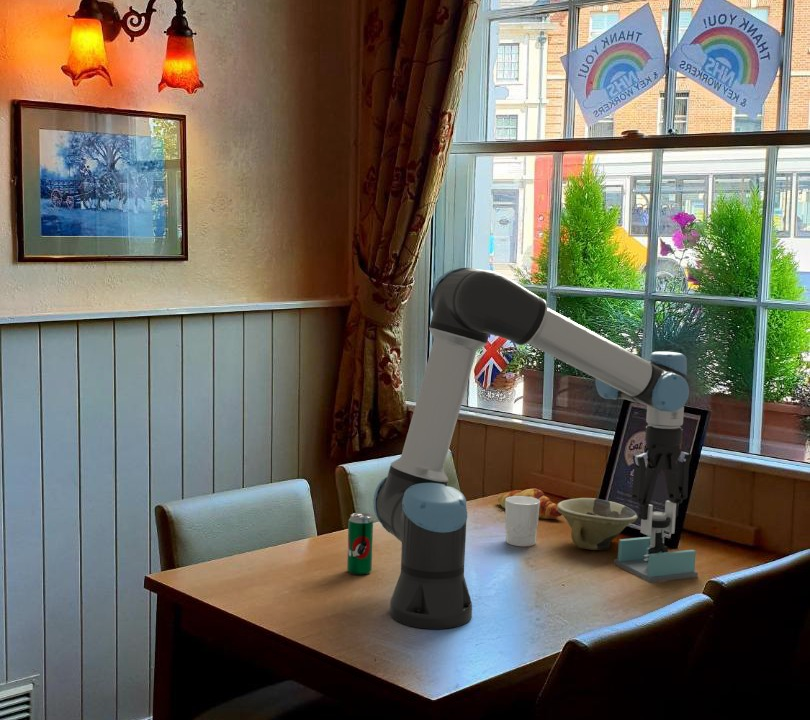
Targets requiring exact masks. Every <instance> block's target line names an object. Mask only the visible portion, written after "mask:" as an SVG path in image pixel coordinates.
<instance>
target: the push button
mask: <svg viewBox="0 0 810 720" xmlns="http://www.w3.org/2000/svg"><path fill="white" fill-rule="evenodd" d="M670 520H671V519H670V518H669V517H667V516H666V513H665V511H653V513H652V528H651V536H649V537H650V542H649V548H647V549H646V555H644V556H646V559H644V560H645V561H649V554H654V553H664V552H669V551H668V549H669V547H668V546H666V545H665V536H664V535H665V534H664V533H665V531H664V529H665V528H667V527H668V526H669V522H670ZM663 540H664V542H663Z"/></svg>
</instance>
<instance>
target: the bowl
mask: <svg viewBox="0 0 810 720" xmlns="http://www.w3.org/2000/svg"><path fill="white" fill-rule="evenodd" d="M556 505H557V507H558V512H559V513H561V514H562V515H561V516H562V517H564V518H565V520H566V522H567V523H568V525H569V527H570V528H571V532H570V533H571V534H570V535H571V537H570V538H571V540H572V542H573V544H574V545H575V546H576V547H578V548H579V549H587V550H591V551H597V552H598V551H607V550H608V549H609V548H610V547H611V542H612V541H614V540H615V538H617V537H618V536H619V535H620V534H621V533H622V532H623V531H624V529H625V528H626V527H628V525H630V524H633V523H634V522H635V523H636V520H637V519H638V518H639V515H638V514H637V512H636V511H635V510H633V509H632V508H630V507H628V506H626V505H624V504H621V503H618V502H615V501H610V500H605V499H601V498H594V497H593V498H592V497H579V498H570V499H565V500H562V501H560V502H558V503H557V504H556Z"/></svg>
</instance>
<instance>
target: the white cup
mask: <svg viewBox="0 0 810 720" xmlns="http://www.w3.org/2000/svg"><path fill="white" fill-rule="evenodd" d="M539 507H540V500H538V499H536V498H533V497H527V496H511V497H508V498H506V499H505V508H504V509H505V513H504V514H505V515H504V516H505V521H504V522H505V531H506V532H505V541H506V543H507V544H509V545H512V546H516V547H531V546H535V544H536V541H537V532H538V525H539V519H540V518H539Z"/></svg>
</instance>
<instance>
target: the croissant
mask: <svg viewBox="0 0 810 720" xmlns="http://www.w3.org/2000/svg"><path fill="white" fill-rule="evenodd" d="M511 496H527V497H533V498H536V499H538V500H540V507H539V518H538V519H545V520H550V519H552V520H554V519H556V518H559V517H561V516H563V515H562V514H561V513H559V512H558V507H557V505H558V504H556V503H554V502H552V500H551V498H550V497H548V496H546V495H545V493H544V492H543V491H542V490H540V489H537V488H527V489H524V490H521V489H519V490H517V489H516V490H512V491H510V492H508V491H507V492H503V493H501V494H499V495H498V497H497V499H496V501H497V502H498V503H499V504H500V506H501V507H502V508H503V509H505V499H506V498H508V497H511Z"/></svg>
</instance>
